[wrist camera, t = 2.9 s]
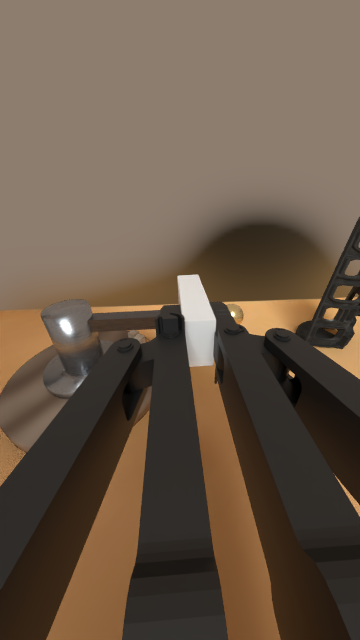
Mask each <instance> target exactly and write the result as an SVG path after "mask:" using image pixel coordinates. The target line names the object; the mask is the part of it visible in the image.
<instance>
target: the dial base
mask: <svg viewBox="0 0 360 640" xmlns="http://www.w3.org/2000/svg"><path fill="white" fill-rule="evenodd" d="M98 335H99V338H100V340H106V341H111V342H116V341H118V340H120V339H123V338H135V339H137V340H138V341H139V342H140V344H142V343H145V342H148V341H150V340H148V339H147V338H146V337H145V336H144V335H141V334H139V331H136V330H131V331H124V330H123V331H103V332H98ZM56 355H58V354H57V351H56V349H55V347H54V345H52V346H50V347H48V348H47V349H45V350H43V351H41V352H40V353H38V354H37V355H35V356H34V357H33V358H31V359H30V360H29V361H27V362H26V363H25V364H24V365H23V366H22V367H20V368H19V370H18V371H17V372H16V373H15V374H14V375H13V376H12V377H11V378H10V380H9V381H8V382H7V384H6V386H5V387H4V389H3V391H2V393H1V395H0V427H1V429H2V431H3V432H4V433H5V434H6V435H7V436H8V438H9V439H10V440H11V441H12V442H13V443H14V444H15V446H16V447H18V448H19V449H21V450H22V451H24V452H26V453H27V452H28V451H29V449H30V448H31V447H32V446H33V444H34V443H35V442H36V441H37V439H38V438H39V437H40V435H41V434H42V433H43V432H44V430H45V429H46V428H47V426H48V425H49V424H50V423H51V421H52V420H53V419H54V417H55V416H56V415H57V414H58V412H59V411H60V410H61V409H62V407H63V406H64V405H65V403H66V402H67V401H68V400H69V399H61V398H57V397H55V396H53V395H52V394H50V393H49V392H48V390H47V388H46V387H45V385H44V383H43V379H42V378H43V372H44V370H45V368H46V366H47V365H48V363H49V362H50V361H51V360H52V359H53V358H54V357H55V356H56ZM151 392H152V386H150V387H148V389H147V393H146V395H145V397H144V400H143V402H142V405H141V407H140V410H139V412H138V415H137V417H136V420H135V422H134V424H133V426H134V425H135V424H136V423H137V422H138V421H139V420H140V419H141V418H142V417H143V416H144V415H145V414H146V413H147V411H148V410H149V409H150V403H151Z"/></svg>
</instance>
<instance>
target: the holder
mask: <svg viewBox="0 0 360 640" xmlns="http://www.w3.org/2000/svg"><path fill="white" fill-rule="evenodd" d="M359 242H360V217H359V219H358V221H357V223H356V225H355V227H354V229H353V231H352V233H351V235H350V237H349V240H348V242H347V244H346V246H345V248H344V251H343V252H342V255H341V257H340V259H339V261H338V264H337V266H336V268H335V270H334V272H333V275H332V277H331V279H330V281H329V284H328V286H327V288H326V290H325V292H324V294H323V297H322V299H321V301H320V303H319V306H318V308H317V310H316V312H315V315H314V317H313V319H312V320H311V321H306V322H304V323H302V324H300V325H299V327H298V329H297V331H296V335H297V336H299V337H300V338H302V339H303V340H305V341H306V342H307V343H309V344H310V345H312V346H318V347H335V348H339V349H343V348H344V346H346V345H347V344H348V343H349V341H350V340H351V338H352V337H353V335H354V334H355V333H354V331H353V326H354V325H355V323H356V317H355V316H360V271H359V273H358V274H357V275H355V276H348V275H345V270H346V268H347V267H348V265H349V263H350V261H352V260H360V248H359V247H358V245H359ZM342 285H346V286H353V288H352V289H351V291H350V293H349V294H348V296H347V298H346V299H345V300H340V299H334V298H333V295H334V293H335V290H336V288H337V287H338V286H342ZM356 293H357V294H358V295H359V297H358V298H357V299H356V300H352V299H353V297H354V296H355V294H356ZM328 308H338V309H339V310H338V312H337V314H336V316H335V317H334V319H332V320H327V319H324V318H323V316H324V314H325V312H326V309H328ZM322 328H332V329H337V330H338V332H337V334H336V335H334V334H332V333H330V332H328V331H326V330H324V329H322Z"/></svg>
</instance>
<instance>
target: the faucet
mask: <svg viewBox="0 0 360 640" xmlns="http://www.w3.org/2000/svg"><path fill="white" fill-rule="evenodd" d="M227 307H228V309H229V311H230V313H231V314H232V316H233V318H234V320H235V322H236V323H237V324H240V323H241V322H242V320H243V317H244V314H243V311H242V309H241V308H240V307H239V306H237V305H235V304H228V305H227ZM159 314H160V310H153V311H133V312H113V313H92V310H91V307H90V304H89V302H88V301H86V300H81V299H72V300H66V301H61V302H58V303H55V304H52V305H50V306H49V307H47V308H45V309H44V310H43V311H42V312H41V318H42V320H43V322H44V324H45V327H46V329H47V331H48V333H49V336H50V338H51V340H52V342H53V345H54V347H55V349H56V351H57V354H58V355H56V356H55V357H54V358H53V359H52V360H51V361H50V362H49V363H48V365H47V366H46V368H45V370H44V372H43V378H42V379H43V383H44V385H45V387H46V388H47V390H48V392H49V393H50V394H52V395H53V396H55V397H57V398H61V399H69V398H70V397H71V396H72V394H73V393H74V392H75V391H76V389H77V388H78V387H79V386H80V384H81V383H82V382H83V380H84V379H85V378H86V377H87V375H88V374H89V373H90V371H91V370H92V369H93V368H94V366H95V365H96V364H97V362H98V361H99V360H100V359H101V357H102V356H103V355H104V354H105V352H106V351H107V350H108V348H109V347H110V346H111V345H112V344H113V343H114V342H111V341H106V340H100V338H99V335H98V332H103V331H123V330H142V329H156V327H155V318H156V316H158V315H159Z"/></svg>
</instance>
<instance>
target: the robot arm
mask: <svg viewBox="0 0 360 640" xmlns="http://www.w3.org/2000/svg"><path fill="white" fill-rule="evenodd" d="M178 294H179V305H165V306H163V307H162V308H161V310H160V314H159V315H158V316H156V318H155V327H156V337H155V338H154V339H153V340H151V341H148V342H145V343H142V344H140V342H139V341H138V340H137V339H135V338H123V339H120V340H118V341H116V342H114V343H113V344H112V345H111V346H110V347H109V348H108V350H107V351H106V352H105V354H104V355H103V356H102V357H101V359H100V360H99V361H98V362H97V364H96V365H95V366H94V368H93V369H92V370H91V371H90V373H89V374H88V375H87V377H86V378H85V379H84V380H83V382H82V383H81V384H80V386H79V387H78V388H77V389H76V391H75V392H74V393H73V394H72V396H71V397H70V398H69V400H68V401H67V402H66V403H65V405H64V406H63V407H62V409H61V410H60V411H59V412H58V414H57V415H56V416H55V417H54V419H53V420H52V421H51V423H50V424H49V425H48V426H47V428H46V429H45V430H44V432H43V433H42V434H41V435H40V437H39V438H38V439H37V441H36V442H35V443H34V444H33V446H32V447H31V448H30V449H29V451H28V452H27V453H26V455H25V456H24V457H23V458H22V460H21V461H20V462H19V464H18V465H17V466H16V467H15V469H14V470H13V471H12V472H11V474H10V475H9V476H8V478H7V479H6V480H5V481H4V483H3V484H2V485H1V487H0V640H46V638H47V636H48V633H49V631H50V629H51V626H52V624H53V621H54V619H55V616H56V614H57V611H58V609H59V606H60V604H61V601H62V599H63V597H64V594H65V592H66V589H67V587H68V584H69V582H70V579H71V577H72V574H73V572H74V570H75V567H76V565H77V562H78V560H79V557H80V555H81V552H82V550H83V547H84V545H85V542H86V540H87V538H88V535H89V533H90V530H91V528H92V525H93V523H94V520H95V518H96V515H97V513H98V511H99V508H100V506H101V503H102V501H103V498H104V496H105V493H106V491H107V488H108V486H109V483H110V481H111V479H112V476H113V474H114V471H115V469H116V466H117V464H118V461H119V459H120V456H121V454H122V452H123V449H124V447H125V444H126V442H127V439H128V437H129V434H130V432H131V429H132V427H133V424H134V422H135V420H136V417H137V415H138V412H139V410H140V407H141V405H142V402H143V400H144V397H145V395H146V393H147V389H148V387H150V386H152V392H151V403H150V415H149V426H148V437H147V449H146V460H145V472H144V483H143V494H142V506H141V517H140V528H139V540H138V550H137V557H136V563H135V566H134V570H133V573H132V576H131V580H130V585H129V591H128V596H127V603H126V611H125V619H124V628H123V637H122V640H228V635H227V627H226V620H225V613H224V606H223V599H222V593H221V586H220V581H219V575H218V570H217V565H216V561H215V557H214V551H213V545H212V538H211V530H210V522H209V515H208V507H207V499H206V491H205V484H204V476H203V468H202V460H201V453H200V445H199V437H198V429H197V422H196V414H195V406H194V398H193V390H192V383H191V375H190V367H194V366H210V365H214V360H215V363H216V368H215V384H217V381H218V384H219V388H220V392H221V395H222V399H223V403H224V407H225V410H226V414H227V418H228V421H229V425H230V429H231V433H232V436H233V440H234V444H235V448H236V451H237V455H238V459H239V462H240V466H241V470H242V474H243V477H244V481H245V485H246V488H247V492H248V496H249V500H250V503H251V507H252V511H253V515H254V518H255V522H256V526H257V529H258V533H259V537H260V541H261V544H262V548H263V552H264V556H265V559H266V563H267V567H268V571H269V575H270V581H271V591H272V601H273V607H274V613H275V617H276V621H277V626H278V630H279V634H280V638H281V640H360V517H359V515H358V513H357V512H356V510H355V508H354V507H353V505H352V503H351V502H350V500H349V498H348V497H347V495H346V493H345V492H344V490H343V489H342V487H341V485H340V484H339V482H338V480H337V479H336V477H337V478H338V479H339V480H340V482H341V483H342V484H343V485H344V487H345V488H346V489H347V490H348V491H349V493H350V494H351V495H352V496H353V497H354V499H355V500H356V501H357V502H358V503H359V505H360V379H358V378H357V377H355V376H354V375H353V374H351V373H350V372H348V371H347V370H346V369H344V368H343V367H341V366H340V365H338V364H337V363H336V362H334V361H333V360H331V359H330V358H329V357H327V356H326V355H324V354H323V353H322V352H320V351H319V350H317V349H316V348H314V347H313V346H312V345H310V344H309V343H307V342H306V341H305V340H303V339H302V338H300V337H299V336H297V335H296V334H295V333H293V332H291V331H289V330H286V329H282V328H272V329H269V330H268V331H267V332H266V334H265V336H258V335H252V334H249V333H248V331H247V329H246V328H245V327H243V326H242V325H240V324H237V323H236V322H235V320H234V318H233V316H232V314H231V313H230V311H229V309H228V307H227V305H225V304H224V303H222V302H209V301H208V299H207V296H206V294H205V291H204V288H203V286H202V283H201V281H200V278H199V276H198V275H184V276H178ZM289 370H290V371H292V372H293V373H294V374H295V377H294V378H293V377H292V376H290V375H289V374H288V373H289ZM333 473H334V474H335V475H334V474H333ZM335 476H336V477H335Z"/></svg>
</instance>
